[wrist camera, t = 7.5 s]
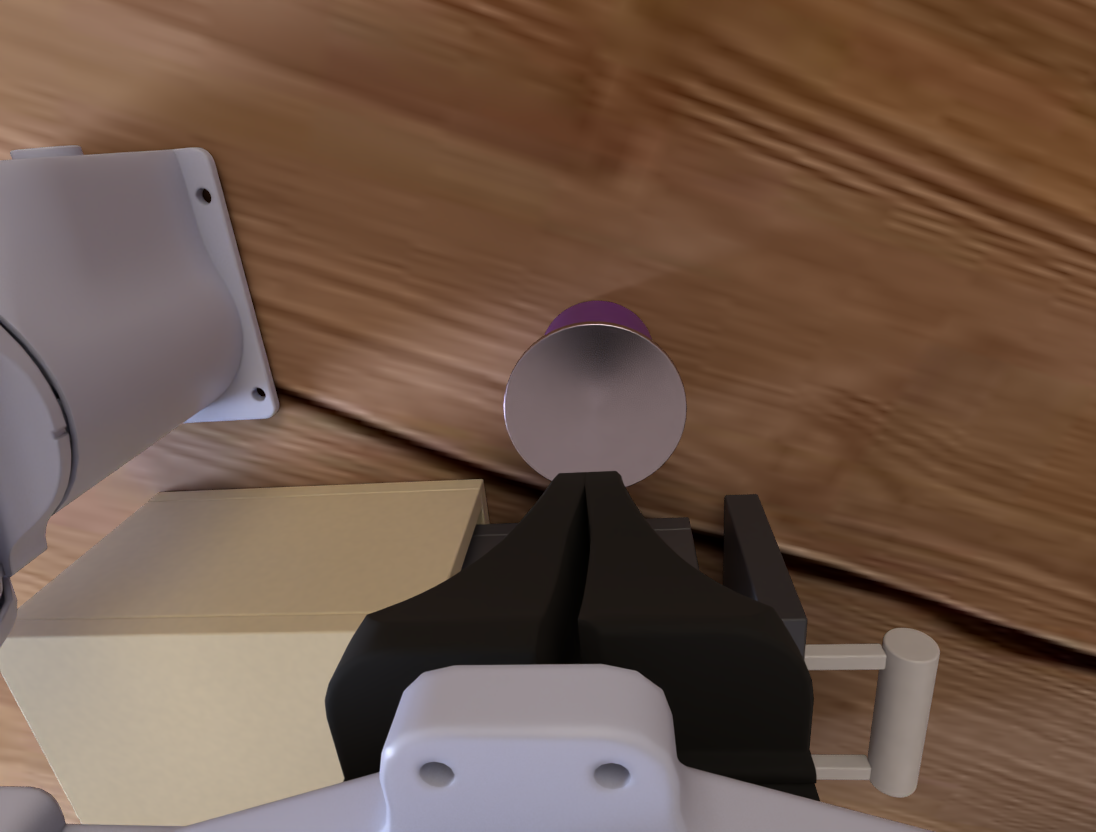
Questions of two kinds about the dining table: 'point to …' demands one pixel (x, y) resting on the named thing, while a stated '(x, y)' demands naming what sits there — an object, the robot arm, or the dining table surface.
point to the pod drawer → (766, 579)
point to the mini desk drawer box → (220, 640)
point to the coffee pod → (595, 396)
